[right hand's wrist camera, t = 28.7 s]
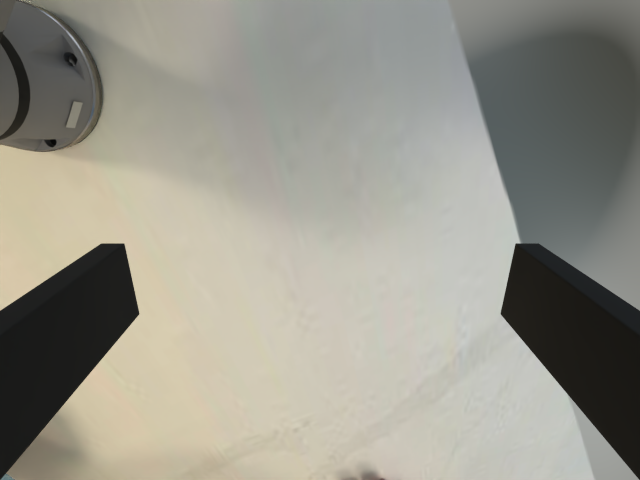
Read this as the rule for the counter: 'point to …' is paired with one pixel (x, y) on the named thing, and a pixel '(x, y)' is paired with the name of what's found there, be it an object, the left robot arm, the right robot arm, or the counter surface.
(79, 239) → the counter surface
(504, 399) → the counter surface
